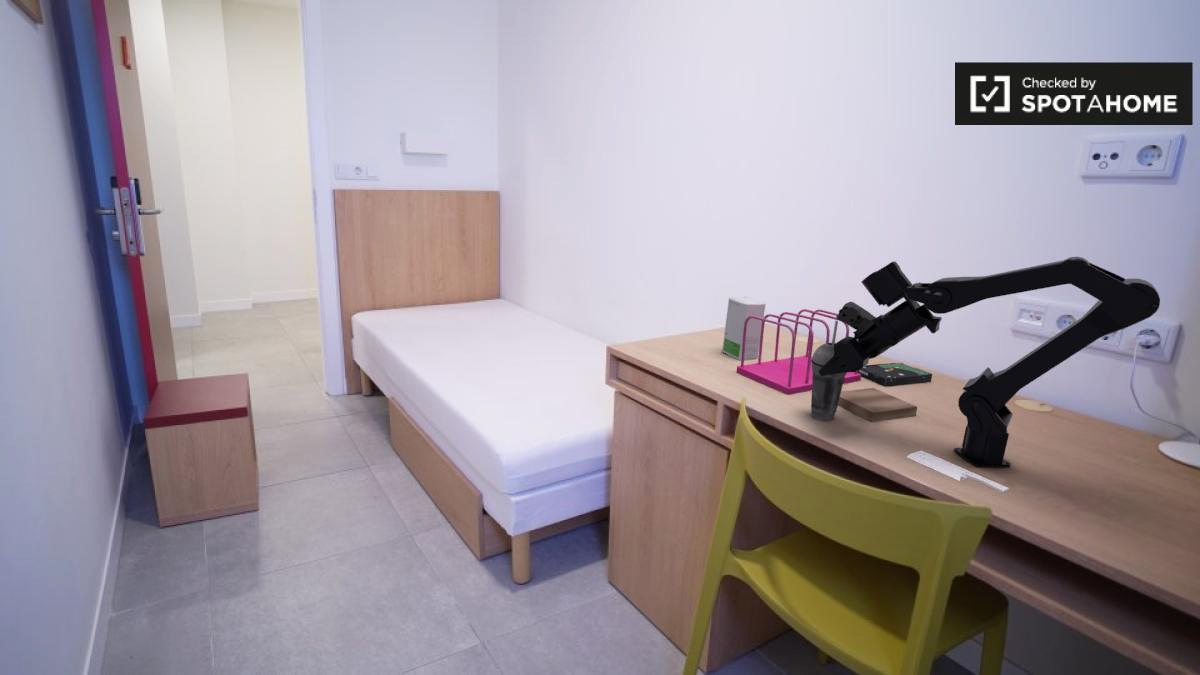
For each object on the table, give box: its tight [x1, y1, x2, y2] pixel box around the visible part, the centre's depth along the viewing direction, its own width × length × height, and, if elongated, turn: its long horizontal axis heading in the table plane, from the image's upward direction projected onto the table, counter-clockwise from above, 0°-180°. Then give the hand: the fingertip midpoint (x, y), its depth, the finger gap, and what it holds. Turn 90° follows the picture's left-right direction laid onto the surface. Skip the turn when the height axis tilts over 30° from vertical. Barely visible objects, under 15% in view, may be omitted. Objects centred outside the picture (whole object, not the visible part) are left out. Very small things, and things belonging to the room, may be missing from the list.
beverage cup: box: [810, 320, 846, 422], centre depth 122 cm, size 7×7×20 cm
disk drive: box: [858, 362, 933, 388], centre depth 152 cm, size 10×3×15 cm
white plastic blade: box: [906, 450, 1010, 493], centre depth 102 cm, size 5×15×1 cm, turn 28°
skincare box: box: [721, 296, 766, 361], centre depth 164 cm, size 8×7×16 cm
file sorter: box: [736, 308, 862, 395], centre depth 148 cm, size 17×25×16 cm
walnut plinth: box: [838, 387, 918, 423], centre depth 130 cm, size 12×12×2 cm
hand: (827, 368), depth 122 cm, fingers open, 9 cm apart
